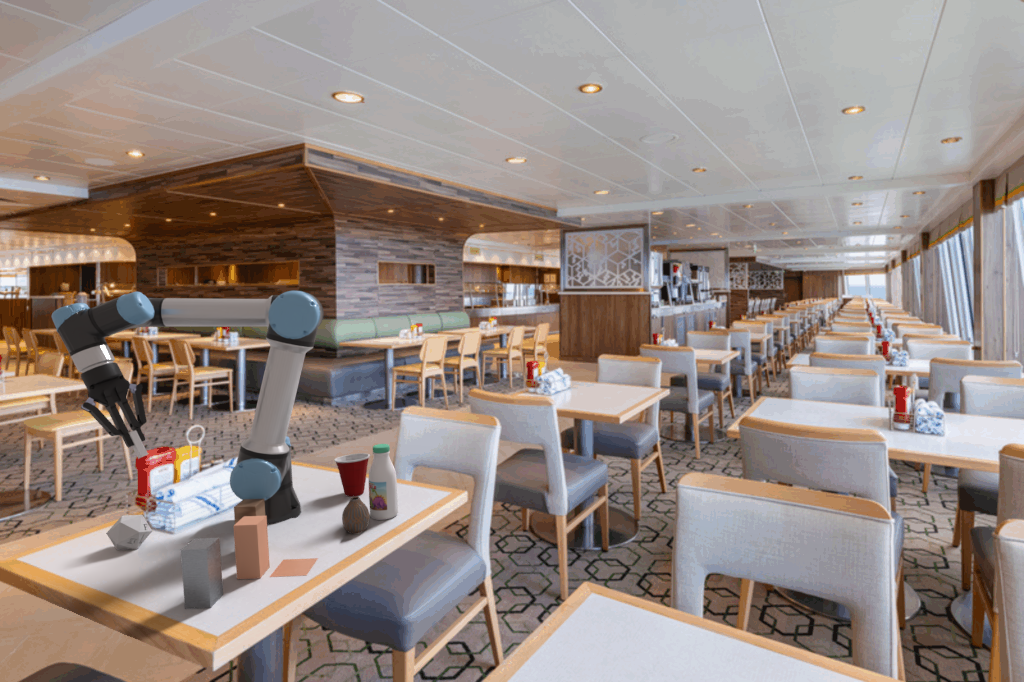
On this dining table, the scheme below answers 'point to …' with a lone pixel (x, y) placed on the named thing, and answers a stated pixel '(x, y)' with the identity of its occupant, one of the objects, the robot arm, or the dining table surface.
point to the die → (129, 532)
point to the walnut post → (249, 508)
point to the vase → (355, 516)
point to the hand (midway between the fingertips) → (143, 456)
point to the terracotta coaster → (294, 567)
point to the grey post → (201, 573)
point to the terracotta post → (251, 547)
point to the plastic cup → (353, 472)
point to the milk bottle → (382, 485)
